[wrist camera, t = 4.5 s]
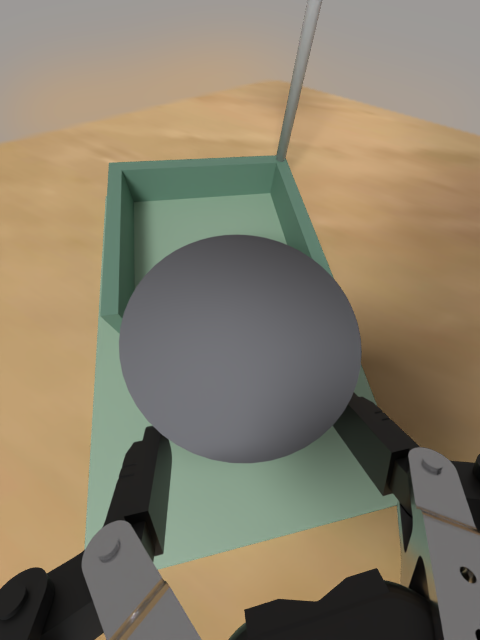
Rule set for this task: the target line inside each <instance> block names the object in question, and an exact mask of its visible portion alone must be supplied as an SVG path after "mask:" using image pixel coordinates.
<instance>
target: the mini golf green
mask: <svg viewBox="0 0 480 640" xmlns="http://www.w3.org/2000/svg"><path fill="white" fill-rule="evenodd" d="M321 3H322V0H308V1H307V6H306V11H305V16H304V21H303V26H302V31H301V36H300V41H299V46H298V51H297V57H296V61H295V66H294V71H293V76H292V81H291V86H290V91H289V96H288V101H287V106H286V111H285V116H284V121H283V126H282V131H281V136H280V141H279V146H278V151H277V155H275V156H253V157H230V158H208V159H185V160H163V161H140V162H118V163H109V172H108V189H107V196H106V202H105V219H104V236H103V252H102V269H101V285H100V302H99V318H98V335H97V352H96V368H95V385H94V401H93V418H92V434H91V451H90V468H89V484H88V501H87V517H86V534H85V549H86V547H87V545H88V544H89V542H90V541H91V539H92V538H93V537H94V535H95V534H96V533H97V532H98V531H99V530H100V529H102V527H103V525H104V522H105V519H106V516H107V513H108V510H109V506H110V503H111V500H112V497H113V493H114V490H115V487H116V484H117V480H118V479H119V474H120V471H121V469H122V464H123V461H124V457H125V454H126V453H127V451H128V450H129V448H130V447H131V446H132V444H133V443H134V442H137V441H142V440H143V436H144V432H145V428H146V427H147V426H153V425H151V424H150V423H149V422H148V421H147V419H146V418H145V417H144V415H143V414H142V413H141V411H140V410H139V409H138V407H137V406H136V404H135V402H134V400H133V398H132V397H131V395H130V393H129V391H128V388H127V385H126V383H125V380H124V377H123V374H122V369H121V364H120V358H119V336H120V327H121V323H122V319H123V315H124V311H125V309H126V306H127V304H128V302H129V299H130V297H131V296H132V294H133V292H134V290H135V288H136V287H137V285H138V284H139V283H140V281H141V280H142V279H143V277H144V276H145V275H146V274H147V273H148V272H149V271H150V270H151V269H152V268H153V267H154V266H155V265H156V264H157V263H158V262H160V261H161V260H162V259H163V258H165V257H166V256H168V255H169V254H171V253H172V252H174V251H175V250H177V249H179V248H181V247H183V246H185V245H188V244H190V243H193V242H196V241H198V240H202V239H206V238H210V237H214V236H222V235H252V236H258V237H264V238H268V239H272V240H275V241H278V242H281V243H284V244H286V245H289V246H291V247H293V248H295V249H297V250H299V251H301V252H302V253H304V254H305V255H307V256H309V257H310V258H312V259H313V260H314V261H315V262H317V263H318V264H319V265H320V266H322V267H323V268H324V269H325V270H326V271H327V272H328V273H329V274H330V275H331V276H332V277H333V275H332V273H331V270H330V268H329V265H328V263H327V260H326V258H325V255H324V253H323V250H322V248H321V245H320V243H319V240H318V238H317V235H316V233H315V230H314V228H313V225H312V223H311V220H310V218H309V215H308V213H307V210H306V208H305V205H304V203H303V200H302V198H301V195H300V193H299V190H298V188H297V185H296V183H295V180H294V178H293V175H292V173H291V170H290V168H289V165H288V163H287V160H286V158H285V157H286V153H287V148H288V144H289V140H290V136H291V131H292V127H293V123H294V119H295V114H296V110H297V106H298V102H299V97H300V93H301V89H302V84H303V80H304V75H305V72H306V67H307V63H308V59H309V55H310V50H311V46H312V42H313V37H314V33H315V29H316V25H317V20H318V16H319V11H320V8H321ZM333 279H334V278H333ZM354 393H355V394H356V395H357V396H358V397H364V398H366V399H368V400H370V401H371V402H373V403H374V404H375V405H376V406H377V404H376V402H375V399H374V396H373V394H372V391H371V389H370V386H369V383H368V381H367V378H366V376H365V373H364V371H363V368H362V365H361V366H360V372H359V376H358V381H357V384H356V387H355V390H354ZM169 442H170V446H171V451H172V469H171V479H170V490H169V501H168V511H167V522H166V532H165V543H164V554H162V555H158V556H155V557H154V561H153V563H154V565H155V567H156V568H157V570H158V569H162V568H166V567H169V566H173V565H177V564H180V563H184V562H188V561H192V560H195V559H199V558H203V557H206V556H210V555H214V554H218V553H221V552H225V551H229V550H232V549H236V548H240V547H244V546H247V545H251V544H255V543H258V542H262V541H266V540H270V539H273V538H277V537H281V536H284V535H288V534H292V533H296V532H299V531H303V530H307V529H310V528H314V527H318V526H322V525H325V524H329V523H333V522H336V521H340V520H344V519H348V518H351V517H355V516H359V515H362V514H366V513H370V512H374V511H377V510H381V509H385V508H388V507H392V506H396V505H397V501H398V499H397V498H396V497H395V495H394V494H389V495H386V496H382V494H381V493H380V492H379V490H378V489H377V487H376V486H375V485H374V483H373V482H372V480H371V479H370V478H369V476H368V475H367V473H366V472H365V471H364V469H363V468H362V466H361V465H360V464H359V462H358V461H357V459H356V458H355V457H354V455H353V454H352V452H351V451H350V450H349V448H348V447H347V445H346V444H345V442H344V441H343V440H342V438H341V437H340V435H339V434H338V433H337V431H336V430H335V428H334V427H333V426H332V427H331V428H330V429H329V430H327V431H326V432H325V433H324V434H323V435H322V436H321V437H320V438H318V439H317V440H316V441H314V442H313V443H311V444H310V445H308V446H307V447H305V448H303V449H301V450H299V451H297V452H295V453H293V454H290V455H288V456H285V457H282V458H278V459H275V460H271V461H266V462H258V463H228V462H222V461H216V460H211V459H208V458H205V457H202V456H199V455H196V454H193V453H191V452H189V451H187V450H186V449H184V448H182V447H180V446H178V445H176V444H175V443H173V442H172V441H170V440H169Z"/></svg>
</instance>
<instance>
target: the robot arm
mask: <svg viewBox="0 0 480 640" xmlns="http://www.w3.org/2000/svg"><path fill="white" fill-rule="evenodd" d="M333 427H334V428H335V430H336V431H337V433H338V434H339V435H340V437H341V438H342V440H343V441H344V442H345V444H346V445H347V447H348V448H349V450H350V451H351V452H352V454H353V455H354V457H355V458H356V459H357V461H358V462H359V464H360V465H361V466H362V468H363V469H364V471H365V472H366V473H367V475H368V476H369V478H370V479H371V480H372V482H373V483H374V485H375V486H376V487H377V489H378V490H379V492H380V493H381V494H382V496H386V495H389V494H394V495H395V497H396V498H397V499H398V501H397V512H398V524H399V535H400V547H401V577H400V584H397V583H394V582H390V581H385V580H383V578H382V576H381V575H380V573H379V571H378V569H377V568H376V569H373V570H369V571H366V572H363V573H360V574H357V575H353V576H350V577H347V578H345V579H344V580H343V581H342V582H341V583H340V584H338V585H337V586H336V587H335V588H334V589H332V590H331V591H330V592H329V593H328V594H327V595H325V596H324V597H323V598H322V599H321V600H319V601H315V602H313V601H299V600H286V599H277V600H274V601H271V602H268V603H264V604H261V605H258V606H255V607H252V608H248V609H245V610H244V611H245V619H246V623H244V624H243V625H242V626H241V627H239V628H238V629H237V630H236V631H235V633H234V634H233V635H232V636H231V637H230V638H229V640H480V454H479V455H478V457H477V459H476V462H475V463H470V462H458V461H449V460H448V459H447V458H446V457H444V456H443V455H441V454H440V453H438V452H436V451H434V450H431V449H428V448H422V447H419V446H418V445H417V444H416V443H415V442H414V441H413V440H412V439H411V438H410V437H409V436H408V435H407V434H406V433H405V432H404V431H403V430H402V429H400V428H399V427H398V426H397V425H396V424H395V423H394V422H393V421H392V420H390V419H389V417H388V416H387V415H386V414H385V413H383V412H382V410H381V409H380V408H379V407H377V406H376V405H375V404H374V403H373V402H371V401H370V400H368V399H366V398H364V397H358V396H357V395H356V394H355V393H354V392H353V395H352V397H351V399H350V401H349V403H348V405H347V406H346V408H345V410H344V412H343V413H342V414H341V416H340V417H339V418H338V420H337V421H336V422H335V423H334V425H333ZM171 469H172V451H171V446H170V442H169V439H168V438H166V437H165V436H163V435H162V434H161V433H160V432H159V431H158V430H157V429H156V428H155V427H154V426H147V427H146V428H145V432H144V436H143V440H142V441H137V442H134V443H133V444H132V446H131V447H130V448H129V450H128V451H127V453H126V454H125V457H124V461H123V464H122V469H121V471H120V474H119V479H118V480H117V484H116V487H115V490H114V493H113V497H112V500H111V503H110V506H109V510H108V513H107V516H106V519H105V522H104V525H103V527H102V529H100V530H99V531H98V532H97V533H96V534H95V535H94V537H93V538H92V539H91V541H90V542H89V544H88V545H87V547H86V549H85V550H84V551H83V552H81V553H80V554H79V555H77V556H76V557H74V558H72V559H71V560H69V561H67V562H66V563H64V564H62V565H61V566H59V567H57V568H55V569H54V570H52V571H50V572H49V573H47V574H46V572H45V571H44V570H43V569H42V568H30V569H27V570H25V571H23V572H21V573H19V574H18V575H16V576H15V577H13V578H12V579H11V580H9V581H8V582H7V583H6V584H5V585H4V586H3V587H2V588H1V589H0V640H94V639H96V638H97V637H98V636H100V635H101V634H102V633H104V634H105V637H106V640H201V638H200V636H199V635H198V633H197V631H196V630H195V628H194V626H193V625H192V623H191V621H190V620H189V618H188V616H187V615H186V613H185V611H184V610H183V608H182V606H181V604H180V603H179V601H178V599H177V598H176V596H175V594H174V593H173V591H172V589H171V588H170V586H169V585H168V583H167V582H166V581H164V580H163V578H162V577H161V575H160V574H159V572H158V570H157V568H156V567H155V565H154V563H153V561H154V557H155V556H158V555H162V554H164V543H165V532H166V522H167V511H168V501H169V490H170V479H171Z"/></svg>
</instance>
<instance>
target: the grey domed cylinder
mask: <svg viewBox="0 0 480 640" xmlns="http://www.w3.org/2000/svg"><path fill="white" fill-rule="evenodd" d="M119 358H120V364H121V369H122V374H123V377H124V380H125V383H126V385H127V388H128V391H129V393H130V395H131V397H132V398H133V400H134V402H135V404H136V406H137V407H138V409H139V410H140V411H141V413H142V414H143V415H144V417H145V418H146V419H147V421H148V422H149V423H150V424H151V425H153V426H154V427H155V428H156V429H157V430H158V431H159V432H160V433H161V434H162V435H163V436H165V437H166V438H168V439H169V440H170V441H172V442H173V443H175V444H176V445H178V446H180V447H182V448H184V449H186V450H187V451H189V452H191V453H193V454H196V455H199V456H202V457H205V458H208V459H211V460H216V461H222V462H228V463H258V462H266V461H271V460H275V459H278V458H282V457H285V456H288V455H290V454H293V453H295V452H297V451H299V450H301V449H303V448H305V447H307V446H308V445H310V444H311V443H313V442H314V441H316V440H317V439H318V438H320V437H321V436H322V435H323V434H324V433H325V432H326V431H327V430H329V429H330V428H331V427H332V426H333V425H334V423H335V422H336V421H337V420H338V418H339V417H340V416H341V414H342V413H343V412H344V410H345V408H346V406H347V405H348V403H349V401H350V399H351V397H352V395H353V392H354V390H355V387H356V384H357V381H358V376H359V372H360V366H361V338H360V333H359V328H358V323H357V320H356V317H355V314H354V311H353V309H352V307H351V305H350V303H349V301H348V299H347V297H346V295H345V294H344V292H343V291H342V289H341V287H340V286H339V285H338V284H337V282H336V281H335V280H334V279H333V277H332V276H331V275H330V274H329V273H328V272H327V271H326V270H325V269H324V268H323V267H322V266H320V265H319V264H318V263H317V262H315V261H314V260H313V259H312V258H310V257H309V256H307V255H305V254H304V253H302V252H301V251H299V250H297V249H295V248H293V247H291V246H289V245H286V244H284V243H281V242H278V241H275V240H272V239H268V238H264V237H258V236H252V235H222V236H214V237H210V238H206V239H202V240H198V241H196V242H193V243H190V244H188V245H185V246H183V247H181V248H179V249H177V250H175V251H174V252H172V253H171V254H169V255H168V256H166V257H165V258H163V259H162V260H161V261H160V262H158V263H157V264H156V265H155V266H154V267H153V268H152V269H151V270H150V271H149V272H148V273H147V274H146V275H145V276H144V277H143V279H142V280H141V281H140V283H139V284H138V285H137V287H136V288H135V290H134V292H133V294H132V296H131V297H130V299H129V302H128V304H127V306H126V309H125V311H124V315H123V319H122V323H121V327H120V336H119Z"/></svg>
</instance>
